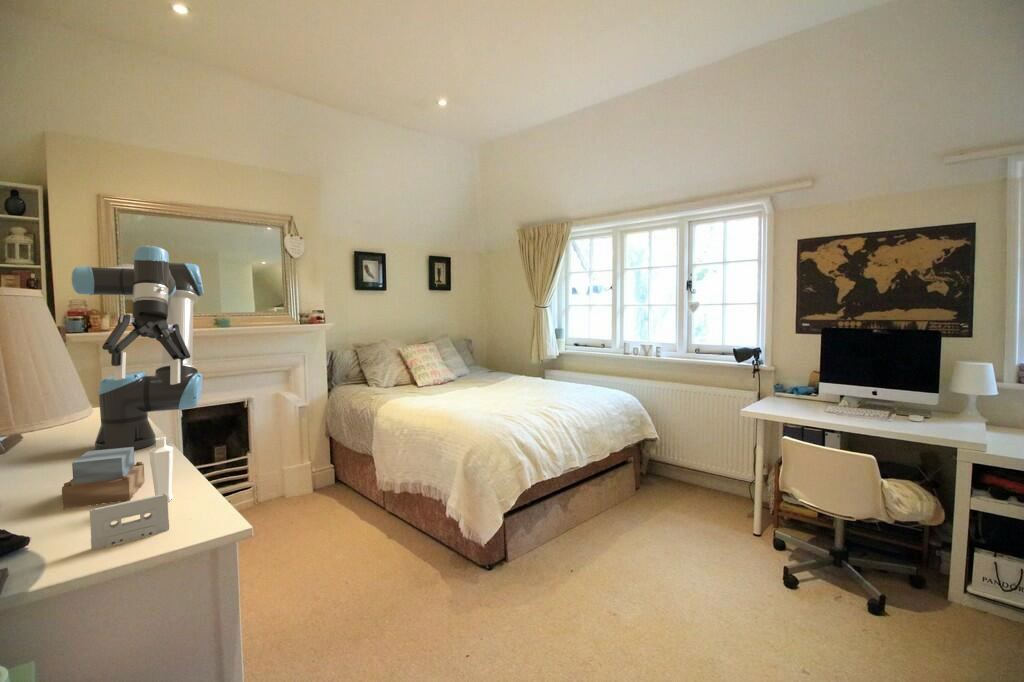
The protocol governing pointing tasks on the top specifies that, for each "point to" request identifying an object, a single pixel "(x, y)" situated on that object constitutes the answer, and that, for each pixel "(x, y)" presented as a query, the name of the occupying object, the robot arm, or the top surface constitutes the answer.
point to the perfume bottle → (162, 467)
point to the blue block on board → (103, 478)
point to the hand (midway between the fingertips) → (148, 381)
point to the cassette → (132, 530)
